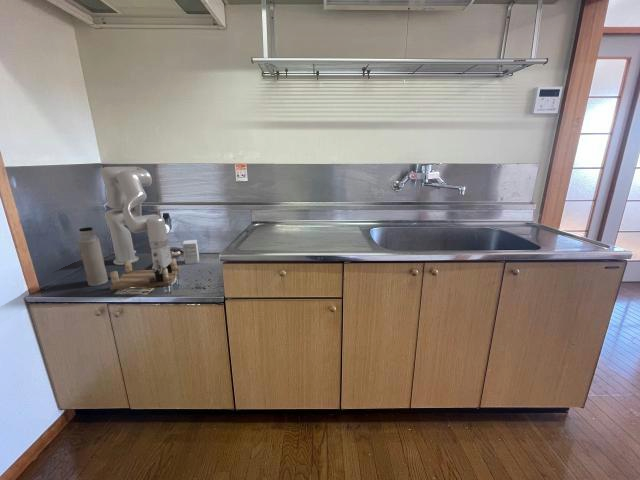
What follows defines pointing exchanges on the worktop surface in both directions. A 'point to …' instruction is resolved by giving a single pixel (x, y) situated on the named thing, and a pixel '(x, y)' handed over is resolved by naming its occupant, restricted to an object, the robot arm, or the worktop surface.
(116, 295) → the worktop surface
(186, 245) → the supplement box
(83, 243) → the thermos bottle
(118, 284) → the stool seat
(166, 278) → the swing leg
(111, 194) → the robot arm
